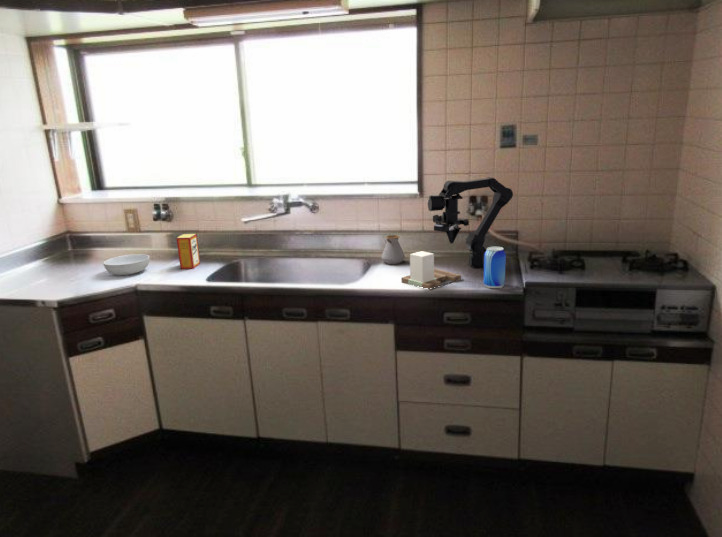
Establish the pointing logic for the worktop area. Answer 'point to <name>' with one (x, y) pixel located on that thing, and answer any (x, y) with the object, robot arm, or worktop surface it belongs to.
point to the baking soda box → (188, 251)
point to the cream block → (422, 266)
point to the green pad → (417, 282)
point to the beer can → (494, 267)
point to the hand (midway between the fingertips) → (451, 243)
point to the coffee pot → (393, 251)
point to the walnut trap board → (441, 277)
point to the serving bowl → (127, 264)
